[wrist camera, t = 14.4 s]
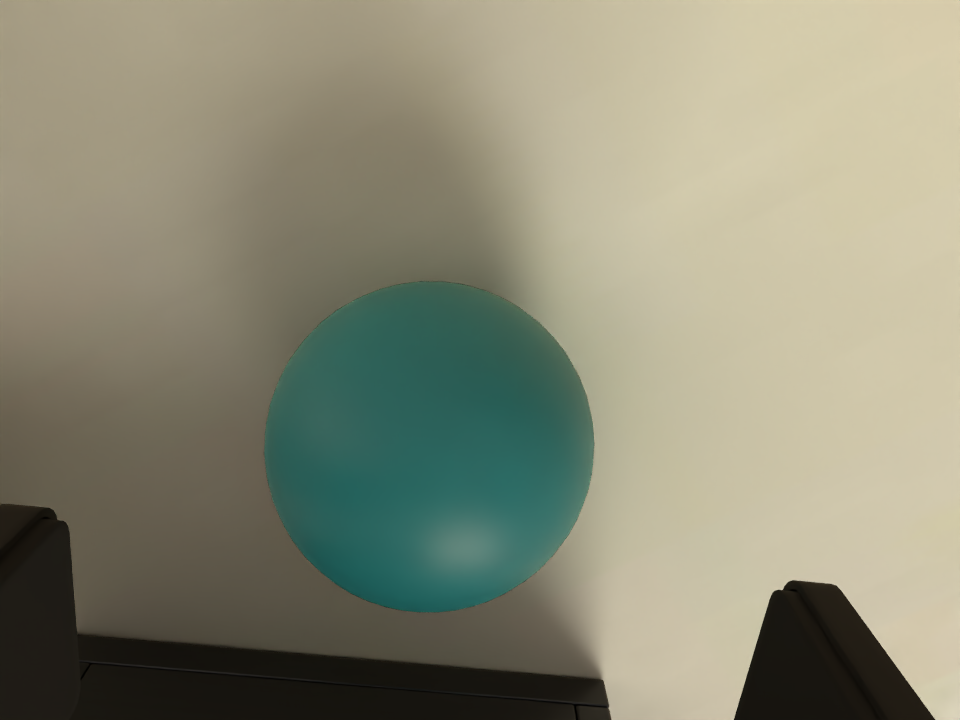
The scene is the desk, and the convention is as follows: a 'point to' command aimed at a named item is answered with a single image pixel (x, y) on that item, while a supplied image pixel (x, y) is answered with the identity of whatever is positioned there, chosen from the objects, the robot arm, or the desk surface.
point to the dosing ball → (429, 446)
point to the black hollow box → (310, 687)
